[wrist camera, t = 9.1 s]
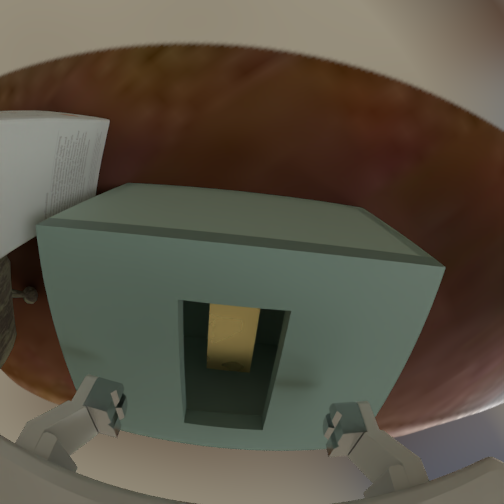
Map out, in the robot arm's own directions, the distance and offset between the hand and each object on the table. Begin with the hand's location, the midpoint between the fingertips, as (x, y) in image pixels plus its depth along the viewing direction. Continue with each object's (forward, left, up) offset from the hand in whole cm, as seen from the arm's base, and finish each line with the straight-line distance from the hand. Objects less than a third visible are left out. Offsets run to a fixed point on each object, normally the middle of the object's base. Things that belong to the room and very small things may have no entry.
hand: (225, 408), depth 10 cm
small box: (+14, -8, -12) cm, 20 cm away
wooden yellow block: (0, 0, -11) cm, 11 cm away
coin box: (0, 0, -12) cm, 12 cm away
